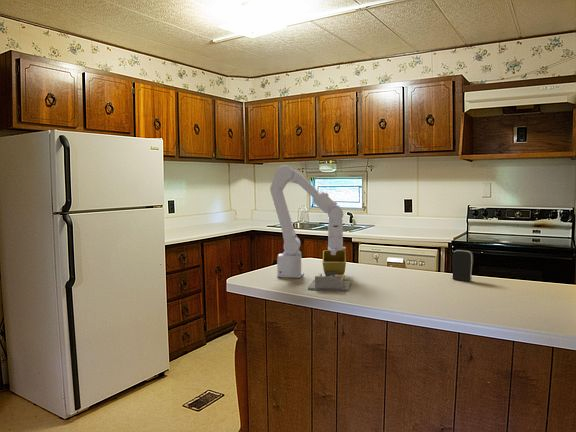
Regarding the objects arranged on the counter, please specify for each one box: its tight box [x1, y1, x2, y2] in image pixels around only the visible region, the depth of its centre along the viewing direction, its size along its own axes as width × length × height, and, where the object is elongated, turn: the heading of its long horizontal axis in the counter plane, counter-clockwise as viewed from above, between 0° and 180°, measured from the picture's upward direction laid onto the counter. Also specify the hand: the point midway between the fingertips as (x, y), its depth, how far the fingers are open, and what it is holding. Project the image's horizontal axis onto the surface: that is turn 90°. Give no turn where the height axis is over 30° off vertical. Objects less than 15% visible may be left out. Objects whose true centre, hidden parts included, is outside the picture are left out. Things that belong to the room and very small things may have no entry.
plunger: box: [324, 271, 346, 278], centre depth 163 cm, size 8×10×4 cm
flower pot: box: [321, 249, 347, 275], centre depth 172 cm, size 9×9×9 cm
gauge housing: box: [307, 272, 352, 293], centre depth 161 cm, size 14×12×5 cm
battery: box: [452, 249, 474, 282], centre depth 169 cm, size 7×4×11 cm, turn 50°
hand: (335, 270), depth 178 cm, fingers closed
